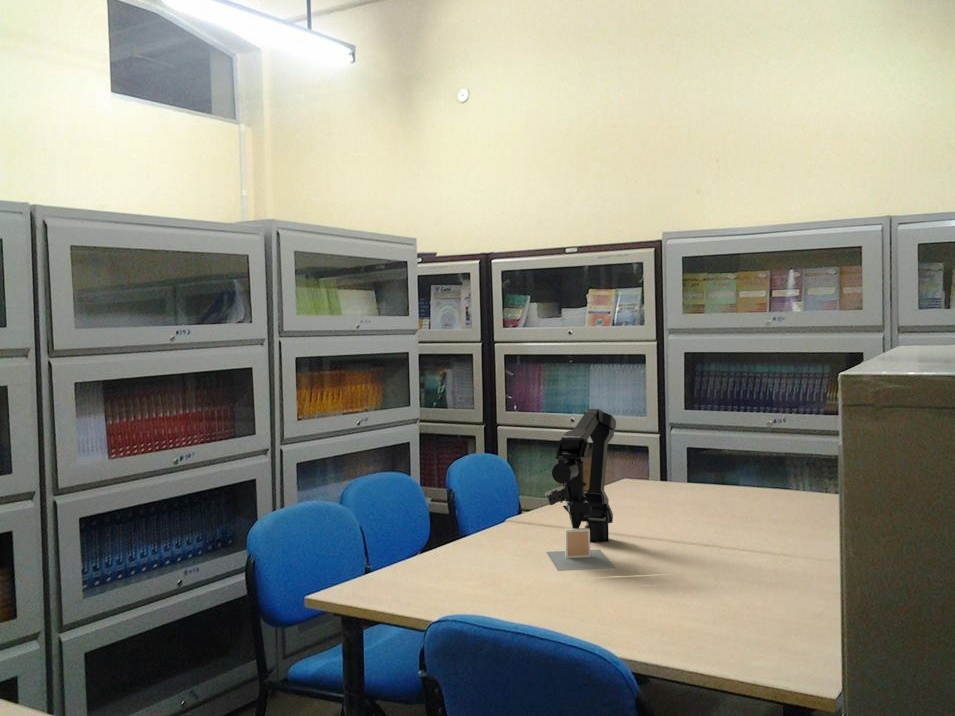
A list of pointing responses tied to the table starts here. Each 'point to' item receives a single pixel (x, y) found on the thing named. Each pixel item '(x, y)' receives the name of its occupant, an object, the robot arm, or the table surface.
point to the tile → (577, 542)
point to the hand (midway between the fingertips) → (575, 531)
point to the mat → (580, 561)
